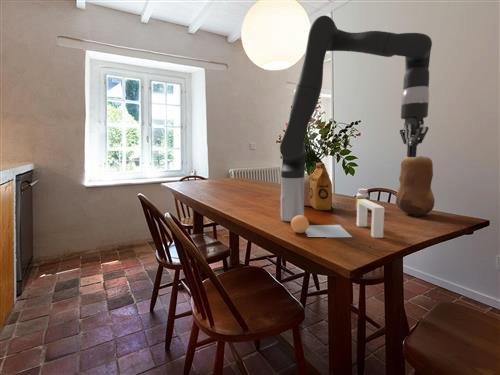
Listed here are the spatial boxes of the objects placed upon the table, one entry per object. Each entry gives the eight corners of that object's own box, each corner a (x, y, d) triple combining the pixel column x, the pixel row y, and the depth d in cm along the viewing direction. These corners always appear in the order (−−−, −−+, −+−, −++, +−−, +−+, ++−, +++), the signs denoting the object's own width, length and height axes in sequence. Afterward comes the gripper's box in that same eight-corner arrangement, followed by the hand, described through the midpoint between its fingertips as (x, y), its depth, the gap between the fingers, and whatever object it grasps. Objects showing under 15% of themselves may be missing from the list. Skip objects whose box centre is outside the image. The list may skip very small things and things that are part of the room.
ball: (296, 238, 91) (289, 222, 90) (294, 232, 97) (287, 217, 96) (313, 230, 91) (305, 214, 90) (309, 225, 96) (302, 210, 96)
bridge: (373, 237, 87) (374, 207, 86) (356, 225, 102) (357, 199, 101) (383, 237, 87) (384, 207, 86) (364, 224, 102) (365, 199, 101)
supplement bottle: (367, 211, 123) (368, 190, 122) (354, 210, 126) (355, 189, 125) (369, 209, 128) (370, 188, 127) (356, 208, 131) (357, 188, 129)
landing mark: (308, 237, 88) (308, 237, 88) (301, 225, 102) (301, 225, 102) (352, 237, 88) (352, 236, 88) (339, 225, 102) (339, 225, 102)
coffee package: (312, 210, 127) (313, 163, 124) (306, 205, 140) (307, 162, 137) (334, 210, 127) (335, 162, 124) (326, 205, 140) (327, 161, 137)
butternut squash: (430, 212, 120) (434, 154, 116) (436, 219, 108) (440, 155, 104) (394, 210, 125) (397, 155, 122) (396, 216, 113) (399, 155, 110)
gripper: (392, 106, 95) (390, 157, 98) (414, 99, 82) (411, 157, 84) (414, 106, 95) (411, 156, 97) (440, 99, 82) (435, 157, 84)
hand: (411, 157), depth 91 cm, fingers closed
